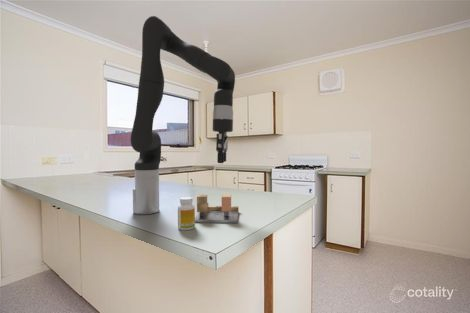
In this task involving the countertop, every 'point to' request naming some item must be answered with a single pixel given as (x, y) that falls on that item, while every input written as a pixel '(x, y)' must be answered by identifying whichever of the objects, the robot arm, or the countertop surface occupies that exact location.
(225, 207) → the block
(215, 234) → the countertop surface
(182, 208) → the supplement bottle
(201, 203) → the gauge rule
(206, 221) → the bolt plate
